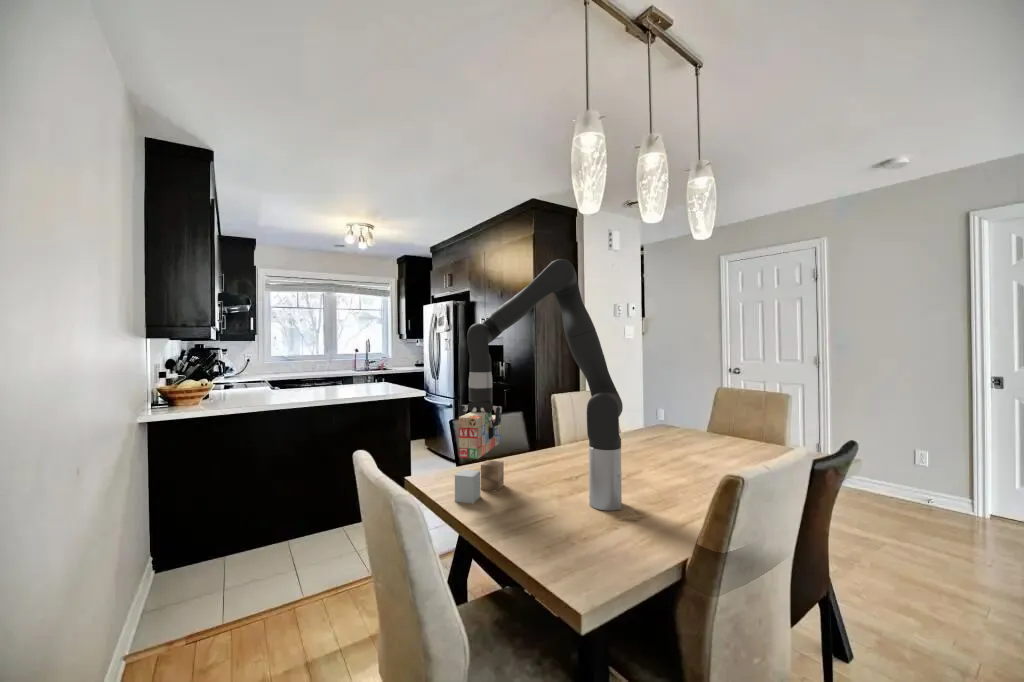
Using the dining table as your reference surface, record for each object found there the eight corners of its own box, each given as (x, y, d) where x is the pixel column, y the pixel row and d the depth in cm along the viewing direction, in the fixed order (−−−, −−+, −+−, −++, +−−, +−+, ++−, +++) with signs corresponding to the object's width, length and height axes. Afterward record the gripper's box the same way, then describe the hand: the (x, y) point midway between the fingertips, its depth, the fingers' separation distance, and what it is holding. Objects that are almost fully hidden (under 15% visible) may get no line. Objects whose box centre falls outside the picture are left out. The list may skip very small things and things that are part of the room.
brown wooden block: (503, 485, 141) (503, 461, 141) (498, 491, 135) (498, 466, 135) (486, 483, 142) (486, 460, 142) (480, 489, 137) (480, 465, 137)
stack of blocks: (484, 441, 145) (484, 405, 145) (501, 442, 143) (501, 406, 143) (458, 457, 125) (458, 416, 125) (478, 459, 123) (477, 417, 123)
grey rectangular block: (480, 496, 130) (480, 470, 130) (473, 503, 125) (473, 476, 125) (462, 494, 132) (462, 469, 132) (454, 501, 126) (454, 475, 126)
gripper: (505, 385, 135) (505, 437, 135) (464, 384, 139) (464, 434, 139) (498, 387, 128) (498, 442, 128) (455, 386, 132) (455, 439, 132)
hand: (480, 438), depth 134 cm, fingers closed on stack of blocks, 6 cm apart
